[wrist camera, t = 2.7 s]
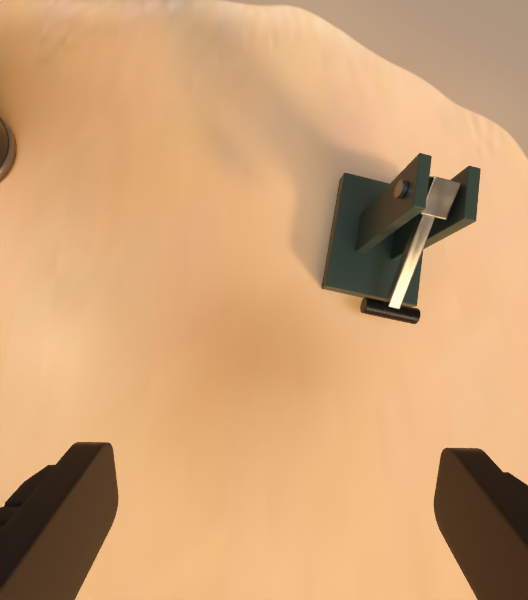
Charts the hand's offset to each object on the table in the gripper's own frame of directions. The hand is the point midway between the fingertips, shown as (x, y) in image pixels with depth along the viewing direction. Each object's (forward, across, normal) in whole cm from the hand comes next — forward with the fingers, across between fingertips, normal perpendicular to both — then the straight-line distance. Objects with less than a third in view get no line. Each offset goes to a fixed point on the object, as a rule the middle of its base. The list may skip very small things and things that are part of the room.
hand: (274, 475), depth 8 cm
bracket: (+32, -12, -3) cm, 34 cm away
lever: (+23, -12, -3) cm, 26 cm away
